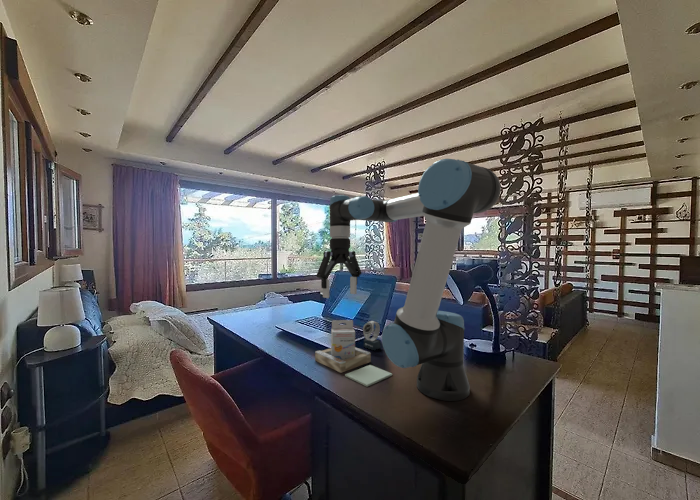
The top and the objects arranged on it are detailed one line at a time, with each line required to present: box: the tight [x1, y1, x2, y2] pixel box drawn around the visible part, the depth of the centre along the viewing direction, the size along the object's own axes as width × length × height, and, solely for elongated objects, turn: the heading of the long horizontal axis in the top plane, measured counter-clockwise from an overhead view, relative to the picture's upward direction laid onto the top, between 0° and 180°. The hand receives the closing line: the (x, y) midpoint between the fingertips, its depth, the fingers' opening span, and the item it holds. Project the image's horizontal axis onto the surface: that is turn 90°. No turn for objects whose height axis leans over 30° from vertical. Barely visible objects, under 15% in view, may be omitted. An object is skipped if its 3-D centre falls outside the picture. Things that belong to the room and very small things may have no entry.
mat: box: [344, 364, 393, 388], centre depth 99 cm, size 10×12×1 cm
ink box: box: [330, 319, 356, 360], centre depth 111 cm, size 8×5×15 cm, turn 98°
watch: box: [362, 320, 381, 351], centre depth 127 cm, size 6×8×11 cm
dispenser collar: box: [314, 346, 372, 374], centre depth 111 cm, size 14×14×3 cm
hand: (340, 295), depth 111 cm, fingers open, 13 cm apart
